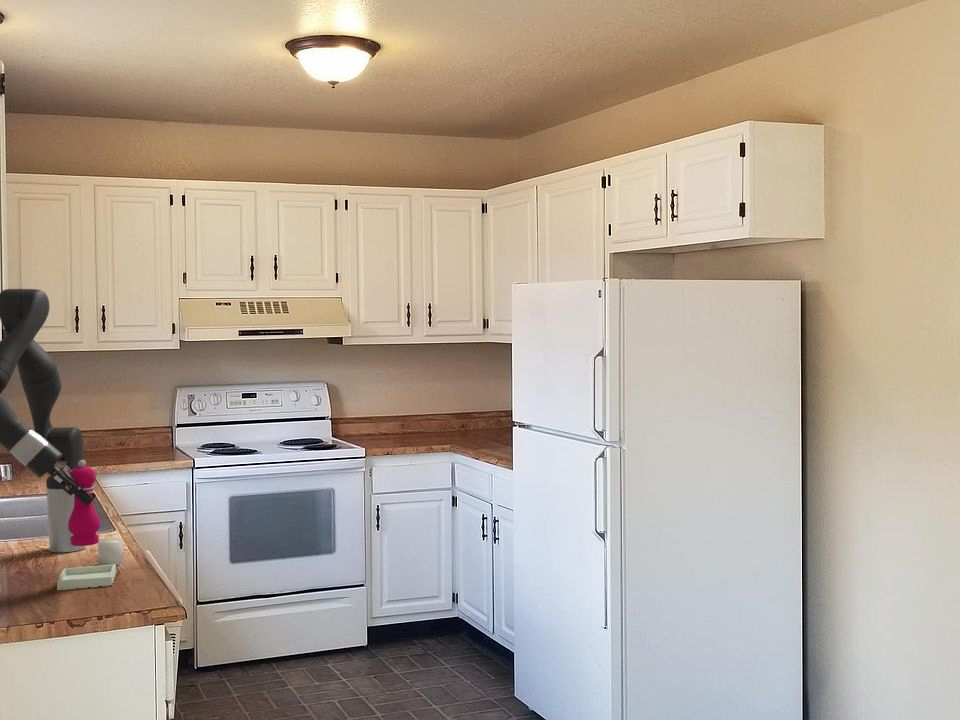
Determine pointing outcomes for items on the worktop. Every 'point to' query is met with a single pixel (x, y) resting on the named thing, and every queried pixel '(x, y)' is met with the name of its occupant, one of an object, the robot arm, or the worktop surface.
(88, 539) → the pepper mill
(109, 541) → the grey rounded block
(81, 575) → the tray
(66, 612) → the worktop surface
